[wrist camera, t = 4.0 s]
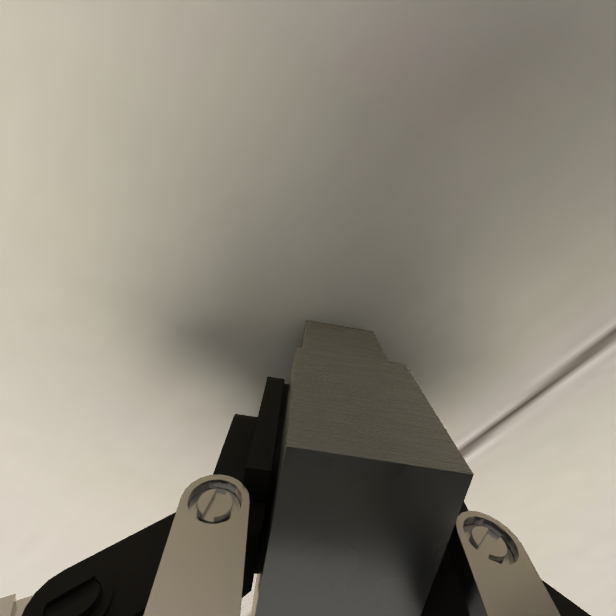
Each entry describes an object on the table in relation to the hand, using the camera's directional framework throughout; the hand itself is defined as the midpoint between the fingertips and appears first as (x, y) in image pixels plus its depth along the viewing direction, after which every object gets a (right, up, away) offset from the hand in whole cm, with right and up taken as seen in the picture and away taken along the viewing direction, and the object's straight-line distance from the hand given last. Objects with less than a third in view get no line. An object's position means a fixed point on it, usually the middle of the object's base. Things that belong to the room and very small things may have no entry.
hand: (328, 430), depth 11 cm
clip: (0, +1, +2) cm, 2 cm away
